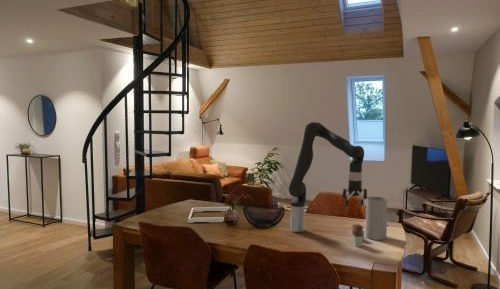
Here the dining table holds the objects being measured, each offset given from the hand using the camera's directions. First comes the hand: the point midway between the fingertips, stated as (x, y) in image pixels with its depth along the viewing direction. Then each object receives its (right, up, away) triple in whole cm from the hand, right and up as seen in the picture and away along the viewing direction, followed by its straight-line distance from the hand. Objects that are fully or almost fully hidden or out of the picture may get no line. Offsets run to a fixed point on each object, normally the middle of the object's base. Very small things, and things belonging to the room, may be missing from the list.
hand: (354, 205), depth 214 cm
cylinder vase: (+18, -23, +13) cm, 31 cm away
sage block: (+2, -23, -1) cm, 23 cm away
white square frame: (-93, -19, +63) cm, 114 cm away
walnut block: (+1, -17, -2) cm, 18 cm away
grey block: (+5, -23, +8) cm, 25 cm away
